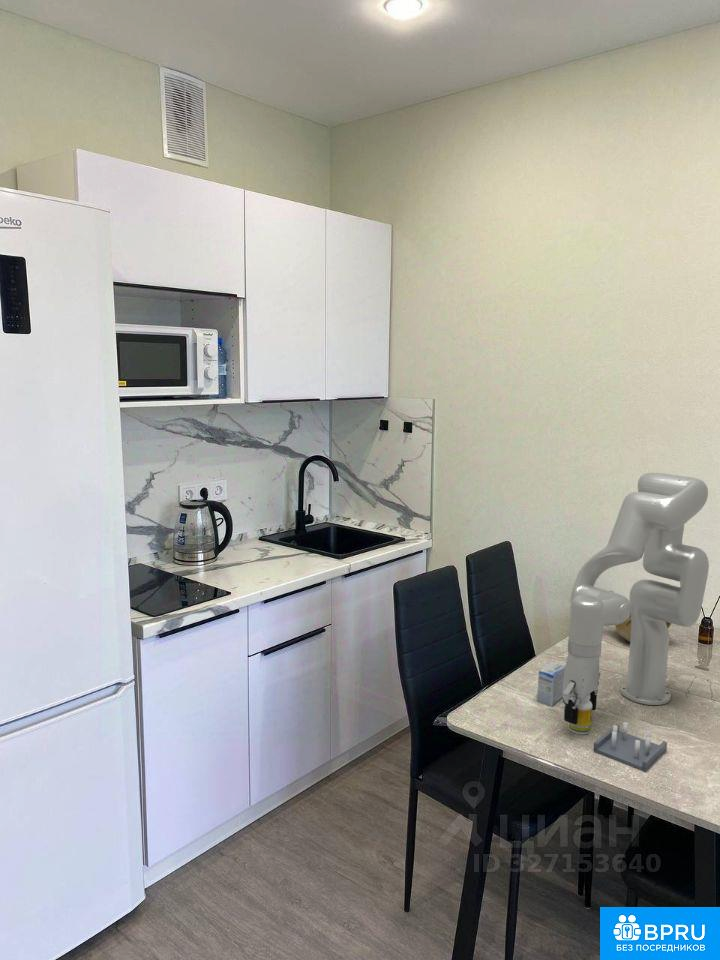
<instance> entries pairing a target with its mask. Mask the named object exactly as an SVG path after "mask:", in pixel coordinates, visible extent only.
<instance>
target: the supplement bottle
mask: <svg viewBox="0 0 720 960" xmlns="http://www.w3.org/2000/svg"><path fill="white" fill-rule="evenodd" d="M572 694H575V695H578V694H577V693H574V692H572ZM570 699H571V700H572V701H573V702H574V701H575V698H573V697H571V698H570ZM577 708H578V722H577V724H576V725H575V724H572V723H569V722H567V728H568V730H569V731H570V733H573V734H575V735H578V736H579V735H581V736H582V735H588V734H590V732H591V730H592V720H593V719H592V717H593V710H592V703H591V701H590V694H588V695H587V696H585V697H584V698H582V699H580V700H579V703H578V705H577Z"/></svg>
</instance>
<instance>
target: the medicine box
mask: <svg viewBox="0 0 720 960" xmlns="http://www.w3.org/2000/svg"><path fill="white" fill-rule="evenodd" d="M565 666H566V665H564V664H560V663H556V662H553V661H551V662H550V663H548V664H547V665H546V666H544V667H543V668H541V669H540V670H538V679H537V696H536V697H537V702H538V703H540V704H544V705H547V706H549V707H553V706H554V705H556V704H557V702H558V701H560V700H561V699H563V680H564V672H565Z"/></svg>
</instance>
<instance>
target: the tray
mask: <svg viewBox="0 0 720 960" xmlns="http://www.w3.org/2000/svg"><path fill="white" fill-rule="evenodd" d="M628 726H629V725H628V722H626V721H623V723H622V731H621V730H620V728H621V725H620V724H618V723H616V724H612V727H611V728H610V729H608V731H605V733H604V734H603V735H601V736H600V737H598V739H596V740H595V741H594V742H593V750H592V751H593V753H597V754H599V755H602V756H604V757H607V758H609V759H611V760H613V761H617V762H620V763H622V764H624V765H627V766H629V767H632V768H634V769H637V770H639V771H642V772H645V773H646V772H647V771H648V770H649V769H650V768H651V767H652V766H653V765H654V764H655V763H656V762H657V761H658V760H659V759H660V758H661V757H662V756H663V755H664V754H665V753H666V752H667V751H668V750H667V749H668V742H667V741H664V740H663V741H662V742H661V743H660V744H657V743H655V742H651V734H652V731H651V730H645V738H644V739H643V738H640V737H638V736H635V735H632V734H629V733H628Z"/></svg>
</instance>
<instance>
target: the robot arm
mask: <svg viewBox="0 0 720 960" xmlns="http://www.w3.org/2000/svg"><path fill="white" fill-rule="evenodd" d="M708 498H709V489H708V486H707V484H706V482H704V481H703V480H701V479H700V478H696V477H691V476H684V475H683V476H682V475H677V474H670V473H662V472H646V473H644V474H642V475H641V476H640V477H639V478H638V481H637V491H633V492H631V493H628V494H627V495H626V496H625V497H624V498H623V501H622V503H621V506H620V509H619V512H618V514H617V517H616V520H615V523H614V525H613V528H612V532H611V534H610V537H609V540H608V542H607V544H606V546H605V547H604V548H603V549H601V550H600V551H598V552H596V553H595V554H594V555H593V556H591V558H589V559H588V560H587V561H586V562H585V563H584V564H583V565H582V566H581V568H580V570H579V571H578V573H577V576H576V579H575V582H574V584H573V588H572V590H571V595H570V606H569V607H570V610H569V624H568V629H569V630H568V642H567V653H568V654H567V657H566V662H565V665H564V666H565V672H564V680H563V697H562V699H563V700H562V701H563V706H564V710H563V711H564V713H563V715H564V716H563V721H565V722H567V723H568V722H569V723H572V724H575V725H576V724H577V722H578V708H577V705H578V703H579V700H580V699H582V698H584V697H585V696H587V695H588V694H590V701H591V703H592V712H593V711H596V710H597V698H598V692H599V690H598V687H599V685H600V678H601V672H600V658H601V655H602V640H603V629H604V627H607V626H609V627H610V626H615V625H618V624H621V623H623V622H625V621H626V620H627V619H628V618H629V616H630V614H631V638H630V642H629V651H628V652H629V653H628V655H629V656H628V667H627V678H626V679H627V680H626V682H623V683H622V684H621V685H620V690H619V691H620V693H621V694H622V695H623V696H624V697H625V698H626V699H628V700H631V701H632V702H636V703H637V704H641V705H642V704H643V705H646V706H647V705H650V706H661V705H666V704H668V703H669V702H670V701H671V697H672V694H671V692H670V691H669V690H668V689H667V688H666V684H667V683H666V680H667V678H668V674H667V669H668V658H669V657H668V656H669V645H670V631H669V628H668V627H667V625H666V623H665V622H669V623H672V624H673V625H676V626H680V627H684V628H685V627H686V628H688V627H692V626H694V625H695V624H696V623H697V621H699V620H698V619H699V618H700V615H701V612H702V606H703V603H704V598H705V597H704V596H705V592H706V587H707V581H708V576H709V570H710V569H709V567H710V565H709V563H710V562H709V557H708V555H707V553H706V552H705V551H704V550H703V549H701V548H699V547H696V546H693V545H687V544H683V537H684V531H685V524H686V523H688V522H689V521H690V520H691V519H692V518H694V517H695V516H696V515H697V514H698V513H699V512H700V511H701V510H702V509H703V508H704V507H705V505H706V503H707V501H708ZM641 559H642V567H643V569H644V571H645V572H647V573H649V574H650V575H652V576H653V575H654V576H657V577H661V578H664V579H667V580H671V581H672V580H673V581H676V582H679V584H680V586H677V585H672V584H669V583H665V582H661V581H658V580H653V579H641V580H638V581H636V582H635V583H634V584H632V586H631V588H630V591H629V598H627V597H626V596H624V595H623V594H620V593H616V592H615V593H614V591H613V592H610V591H611V590H606V589H602V588H600V587H596V586H595V583H596V582H597V580H598V578H599V577H600V576H601V575H602V574H603V573H604V572H605V571H607V570H608V569H611V568H614V567H617V566H620V565H624V564H629V563H630V564H631V563H634V562H638V561H639V560H641ZM629 601H630V602H629ZM672 624H671V625H672ZM573 692H574V693H577V694H578V695H575V694H573ZM572 698H575V701H574V702H573V701H572V700H571V699H572Z"/></svg>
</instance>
